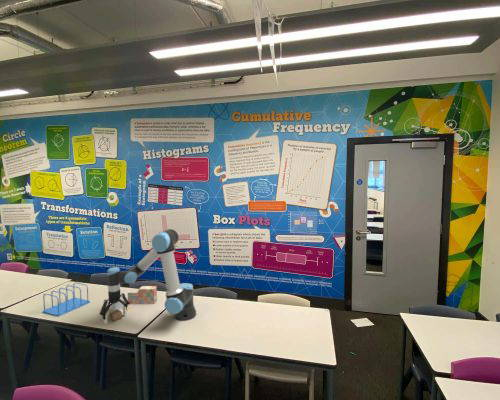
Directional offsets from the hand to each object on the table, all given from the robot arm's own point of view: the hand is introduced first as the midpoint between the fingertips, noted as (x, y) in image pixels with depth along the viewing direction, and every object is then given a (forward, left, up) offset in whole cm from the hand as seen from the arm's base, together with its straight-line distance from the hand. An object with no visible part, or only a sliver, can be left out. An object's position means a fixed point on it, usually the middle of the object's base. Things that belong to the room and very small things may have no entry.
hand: (115, 319), depth 189 cm
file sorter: (+49, +11, -1) cm, 50 cm away
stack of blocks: (+9, -27, -1) cm, 29 cm away
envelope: (+11, -8, -1) cm, 14 cm away
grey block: (+14, -9, 0) cm, 16 cm away
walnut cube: (0, 0, -1) cm, 1 cm away
